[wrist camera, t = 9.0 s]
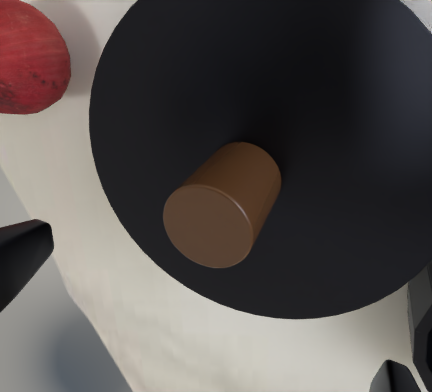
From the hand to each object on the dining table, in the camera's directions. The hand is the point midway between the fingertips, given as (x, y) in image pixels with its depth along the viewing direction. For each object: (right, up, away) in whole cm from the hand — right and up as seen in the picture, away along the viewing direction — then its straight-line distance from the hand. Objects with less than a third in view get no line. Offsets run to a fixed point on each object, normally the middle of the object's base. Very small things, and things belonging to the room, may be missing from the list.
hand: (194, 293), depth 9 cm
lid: (+2, +3, +5) cm, 6 cm away
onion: (-9, +12, +13) cm, 20 cm away
